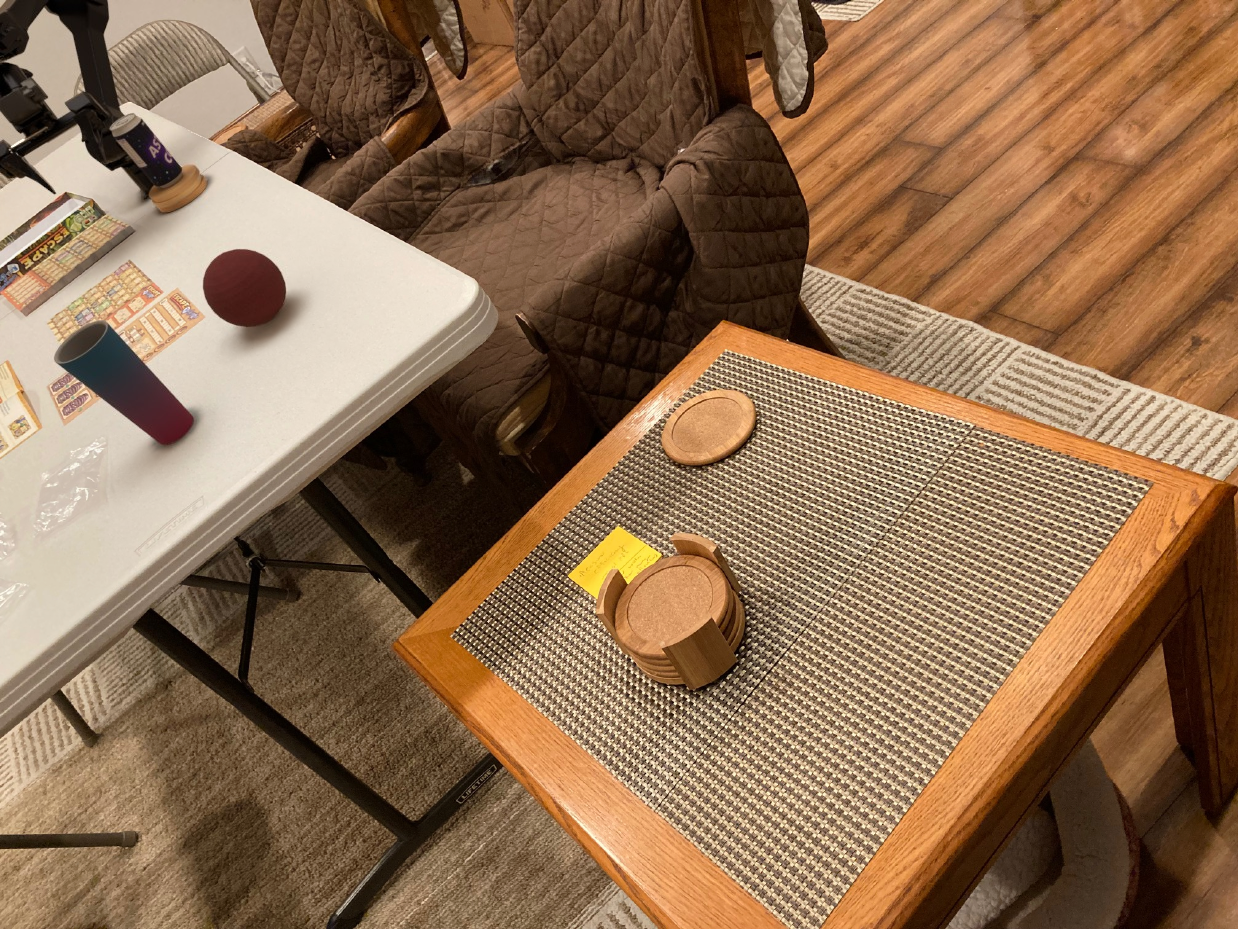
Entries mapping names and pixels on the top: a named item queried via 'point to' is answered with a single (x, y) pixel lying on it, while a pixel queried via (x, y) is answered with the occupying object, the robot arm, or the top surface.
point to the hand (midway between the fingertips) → (79, 177)
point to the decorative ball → (244, 287)
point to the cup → (123, 381)
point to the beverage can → (146, 150)
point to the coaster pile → (179, 190)
